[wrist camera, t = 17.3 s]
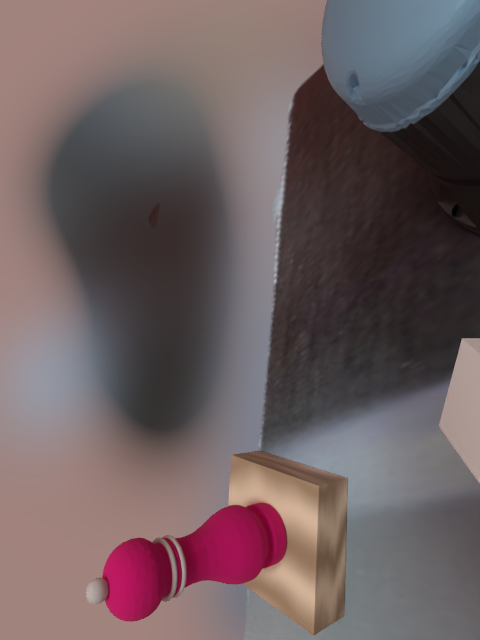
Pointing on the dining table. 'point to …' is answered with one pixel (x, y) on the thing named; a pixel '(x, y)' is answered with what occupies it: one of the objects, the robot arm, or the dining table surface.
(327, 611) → the birch block
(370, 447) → the dining table surface
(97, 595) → the pepper mill
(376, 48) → the robot arm
